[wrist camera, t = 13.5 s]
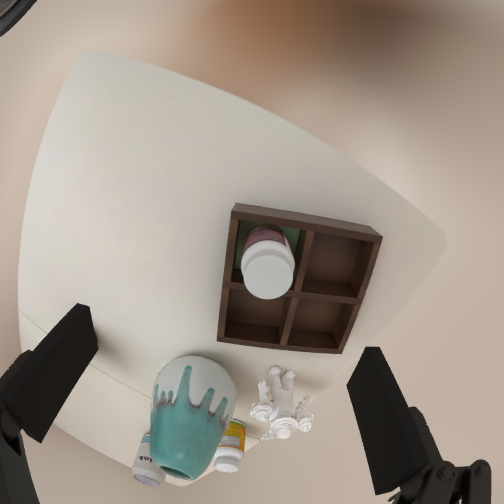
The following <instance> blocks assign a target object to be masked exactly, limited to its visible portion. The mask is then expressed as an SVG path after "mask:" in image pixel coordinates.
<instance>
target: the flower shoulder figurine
mask: <svg viewBox="0 0 504 504" xmlns="http://www.w3.org/2000/svg"><path fill="white" fill-rule="evenodd" d="M280 373H281V368H280V367H273V368H271V369H270V371H269V372H268V378H269V381H270V382H271V386H269V387H267V386H266V380H264V381H263V380H262V381H260V382H259V383H258V392H259V401H260V405H258V404H257V403H256V402H253V404H252V407H253V405H254V404H257V406H256V407H254V408H253V409H252V407H251V411H250V415H251V416H252V417H254V419H255V420H256V418H257V419H258V420H259V421H262V422H263V421H267V420H264V419H267V418H268V419H269V420H270V427H269V430H270V431H271V432H269V434H271V435H270V436H269V434H263V436H265V437H262V436H261V439H259V440H262V439H263V440H262V441H264V440H268V439H274V440H275V439H276V437H274V436H275V435H276V436H277V438H280V439H287V438H289V437H290V435H292V434H291V433H292V432H294V431H295V430H296V429H297V428H298V429H299V430H300V431H303V430H306V431H305V432H307V431H309V430H311V428H312V421H313V420H314V417H313V418H312V417H307V416H304V415H305V414H310V415H312V416H313V414H312V413H311V412H309V411H306V412H305V413H304V414H303V416H302V417H300V418H299V416H300V415H301V413H302V411H303V410H304V408H305V407H306V405H307V404H308V402H309V396H308V395H307V396H305V397H304V398H302V401H301V402H299V406H298V407H297V408H295V406H294V405H293V402H292V398H293V386H294V385H293V380H294V378H295V376H296V374H295V372H294V371H288V372H286V373H285V375H283V376H282V377H281V380H282V383H283V385H284V389H282V388H281V383H280V378H279V376H280ZM270 388H271V396H272V399H273V400H270V401H269V400H268V397H267V392H268V391H269V390H270ZM307 429H308V430H307ZM267 437H268V438H267Z"/></svg>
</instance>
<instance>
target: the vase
mask: <svg viewBox="0 0 504 504" xmlns="http://www.w3.org/2000/svg"><path fill="white" fill-rule="evenodd" d="M236 399H237V396H236V388H235V384H234V382H233V379H232V378H231V376H230V375H229V373H228V372H227V371H226V370H225V369H224V368H223V367H222V366H221V365H220V364H218V363H217V362H215V361H213V360H211V359H209V358H206V357H202V356H194V355H189V356H183V357H179V358H176V359H174V360H172V361H170V362H169V363H168V364H166V365H165V366H164V367H163V368H162V370H161V371H160V372H159V374H158V376H157V378H156V380H155V383H154V387H153V392H152V398H151V417H150V421H151V426H150V456H151V459H152V462H153V464H154V465H155V467H157V468H158V469H159V470H161V471H162V472H164V473H166V474H168V475H170V476H173V477H175V478H178V479H182V480H195V479H196V478H198V477H199V476H200V475H201V474H202V473H203V472H204V471H205V470H206V469H207V468H208V466H209V465H210V463H211V461H212V459H213V457H214V455H215V453H216V450H217V448H218V446H219V444H220V442H221V440H222V438H223V436H224V435H225V433H226V430H227V428H228V426H229V423H230V421H231V418H232V416H233V413H234V410H235V405H236Z"/></svg>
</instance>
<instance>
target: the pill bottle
mask: <svg viewBox="0 0 504 504" xmlns="http://www.w3.org/2000/svg"><path fill="white" fill-rule="evenodd" d="M294 267H295V261H294V257H293V255H292V251H291V248H290V245H289V242H288V239H287V236H286V234H285V233H284V232H283V230H281V229H280V228H279V227H277V226H275V225H270V224H262V225H259V226H256V227H254V228H253V229H252V230H251V231H250V232H249V233H248V234H247V236H246V239H245V243H244V248H243V255H242V260H241V271H242V274H243V276H244V283H245V286H246V288H247V289H248V290H249V292H250V293H252V294H253V295H254V296H256V297H258V298H261V299H274V298H277V297H280V296H282V295H283V294H285V293H286V292H287V291H288V289H289V288H290V286H291V284H292V281H293V272H294Z"/></svg>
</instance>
